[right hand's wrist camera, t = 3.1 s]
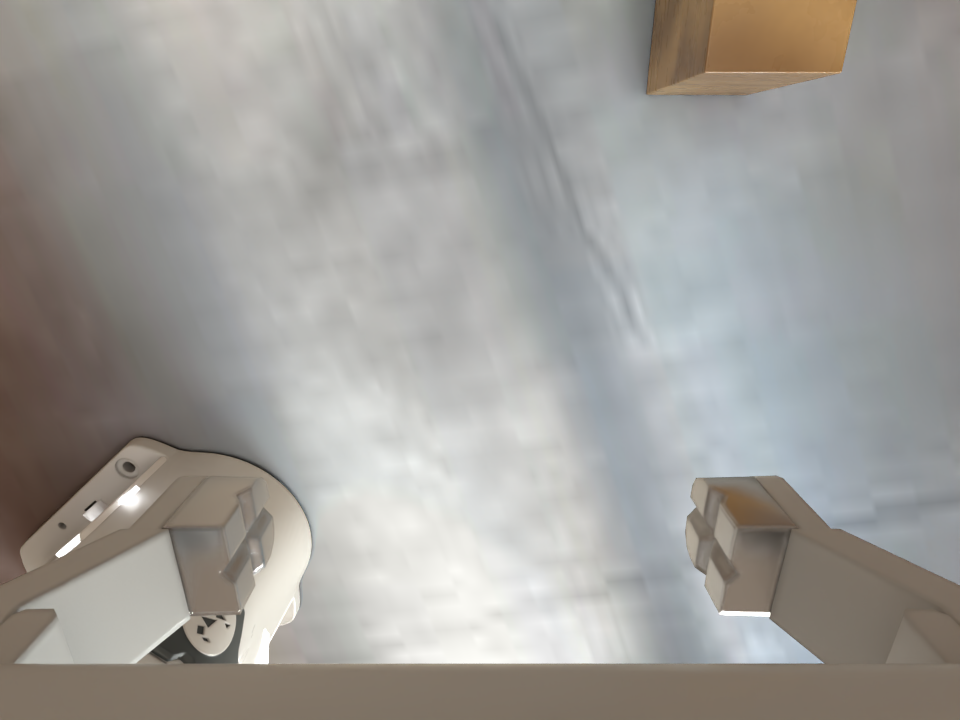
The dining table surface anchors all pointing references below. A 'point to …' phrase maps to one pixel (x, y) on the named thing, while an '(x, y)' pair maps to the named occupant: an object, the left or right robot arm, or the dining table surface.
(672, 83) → the bar
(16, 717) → the right robot arm
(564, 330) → the dining table surface
